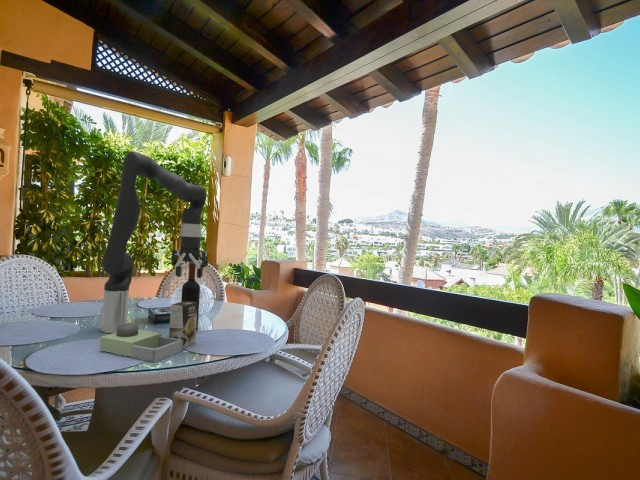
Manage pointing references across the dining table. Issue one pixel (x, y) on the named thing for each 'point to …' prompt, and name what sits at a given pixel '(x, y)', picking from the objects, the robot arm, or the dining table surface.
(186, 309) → the coffee box
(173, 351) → the green and grey tray
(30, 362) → the dining table surface
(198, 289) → the wine bottle
